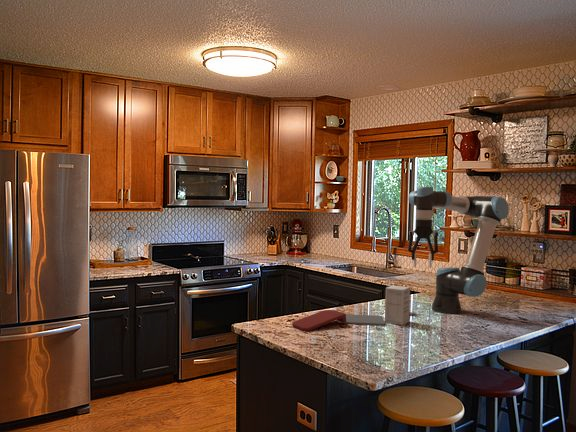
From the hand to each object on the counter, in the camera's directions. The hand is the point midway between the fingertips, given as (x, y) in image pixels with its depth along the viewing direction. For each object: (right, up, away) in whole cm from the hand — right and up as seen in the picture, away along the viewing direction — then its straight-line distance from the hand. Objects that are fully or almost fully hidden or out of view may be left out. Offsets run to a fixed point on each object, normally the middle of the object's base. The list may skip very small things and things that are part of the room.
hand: (422, 267), depth 249 cm
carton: (-49, -26, -8) cm, 56 cm away
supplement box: (-12, -27, +2) cm, 29 cm away
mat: (-28, -26, +3) cm, 38 cm away
